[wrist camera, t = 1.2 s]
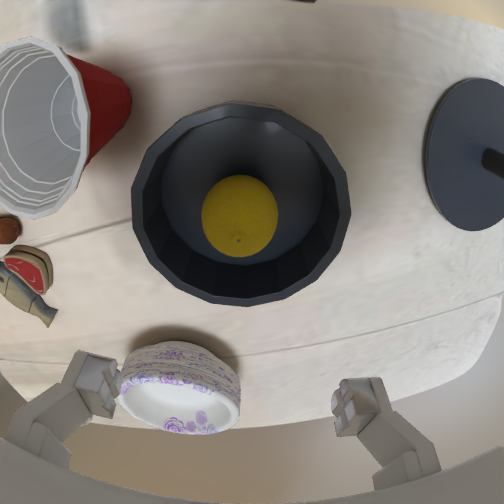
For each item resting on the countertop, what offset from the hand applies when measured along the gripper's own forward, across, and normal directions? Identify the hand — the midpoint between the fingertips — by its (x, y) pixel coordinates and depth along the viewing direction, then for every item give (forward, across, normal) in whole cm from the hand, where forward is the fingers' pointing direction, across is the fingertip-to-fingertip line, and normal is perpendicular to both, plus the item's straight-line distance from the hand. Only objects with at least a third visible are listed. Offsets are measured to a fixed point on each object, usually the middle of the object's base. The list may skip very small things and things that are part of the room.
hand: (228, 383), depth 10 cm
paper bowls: (+19, +5, +24) cm, 31 cm away
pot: (+18, 0, 0) cm, 18 cm away
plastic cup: (+19, +13, -7) cm, 24 cm away
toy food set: (+19, +32, +8) cm, 38 cm away
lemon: (+18, 0, 0) cm, 18 cm away
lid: (+18, -24, -9) cm, 31 cm away
